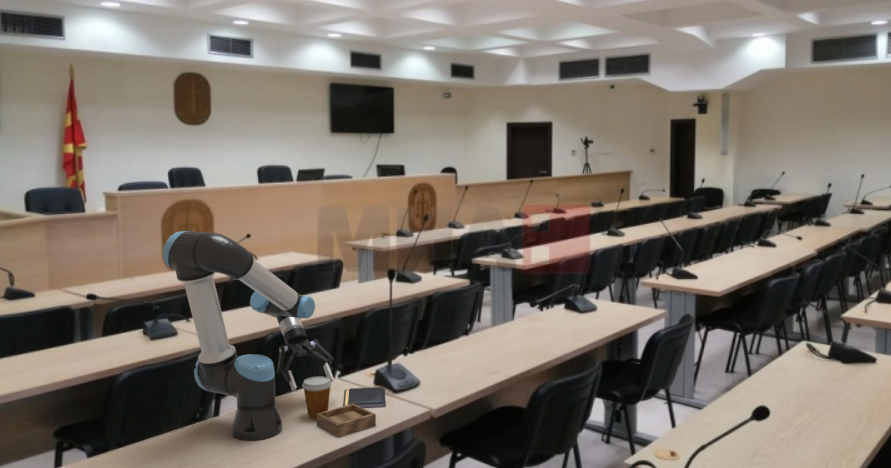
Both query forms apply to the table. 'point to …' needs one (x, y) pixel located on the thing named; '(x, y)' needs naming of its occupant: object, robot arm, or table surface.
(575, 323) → the table surface
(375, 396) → the wallet
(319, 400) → the disposable coffee cup
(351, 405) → the tray
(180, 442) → the table surface
